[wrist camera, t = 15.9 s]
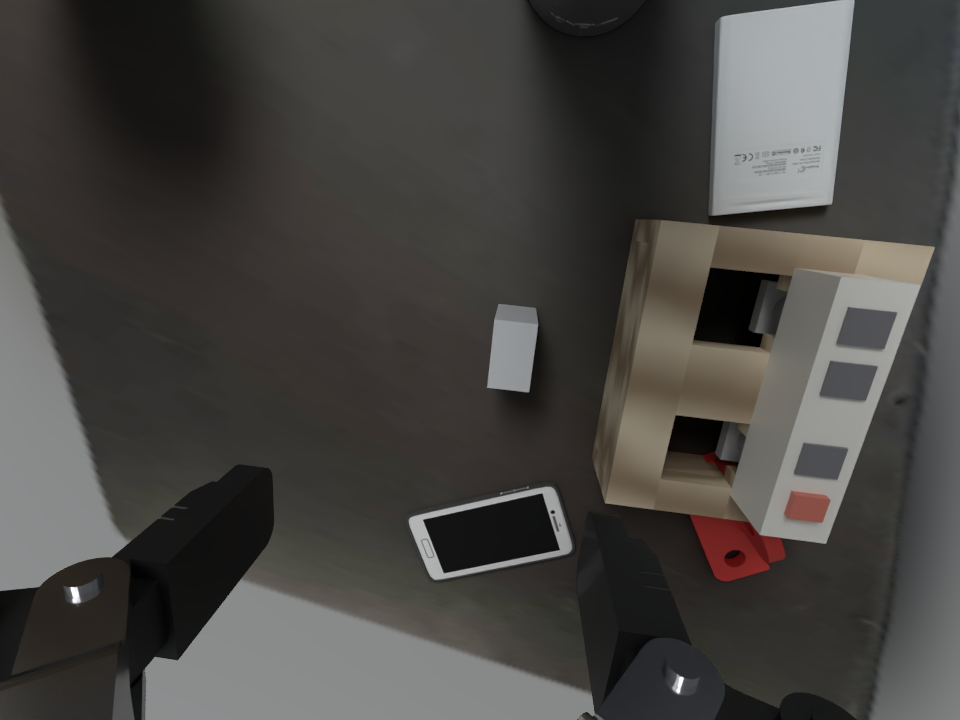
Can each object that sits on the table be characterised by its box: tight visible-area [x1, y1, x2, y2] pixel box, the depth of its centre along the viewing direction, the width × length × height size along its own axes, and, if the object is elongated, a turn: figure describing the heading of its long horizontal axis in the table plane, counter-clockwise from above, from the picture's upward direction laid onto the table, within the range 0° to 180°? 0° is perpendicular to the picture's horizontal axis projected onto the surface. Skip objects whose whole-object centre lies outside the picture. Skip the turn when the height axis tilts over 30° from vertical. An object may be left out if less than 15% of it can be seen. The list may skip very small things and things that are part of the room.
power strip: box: [715, 268, 921, 544], centre depth 31 cm, size 16×4×9 cm, turn 175°
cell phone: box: [406, 481, 575, 582], centre depth 45 cm, size 8×15×1 cm, turn 107°
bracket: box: [689, 451, 785, 581], centre depth 38 cm, size 12×4×8 cm, turn 25°
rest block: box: [487, 304, 538, 392], centre depth 36 cm, size 5×3×6 cm, turn 174°
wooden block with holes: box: [592, 219, 935, 532], centre depth 35 cm, size 20×16×7 cm
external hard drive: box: [708, 0, 854, 216], centre depth 33 cm, size 2×8×12 cm
